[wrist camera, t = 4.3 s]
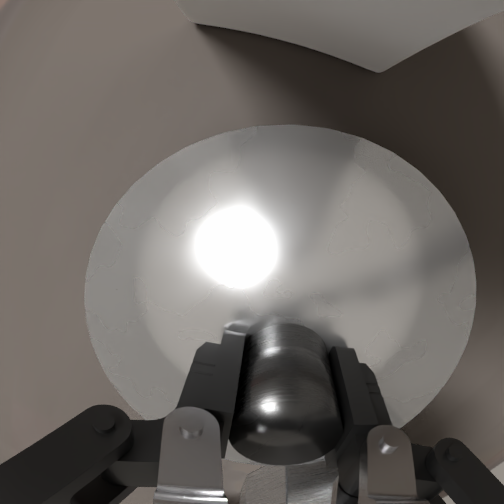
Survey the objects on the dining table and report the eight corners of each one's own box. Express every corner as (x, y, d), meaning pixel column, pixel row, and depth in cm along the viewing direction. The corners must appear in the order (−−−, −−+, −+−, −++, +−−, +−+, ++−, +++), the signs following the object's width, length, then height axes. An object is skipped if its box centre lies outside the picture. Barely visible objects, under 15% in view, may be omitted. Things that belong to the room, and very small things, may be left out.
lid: (507, 185, 8) (587, 213, 4) (386, 454, 13) (401, 514, 9) (93, 113, 9) (2, 108, 5) (118, 424, 14) (90, 483, 10)
